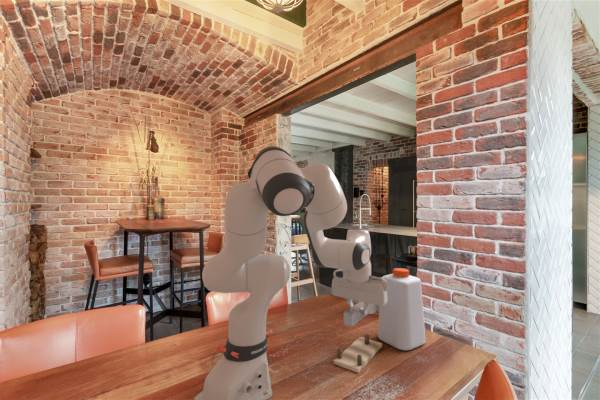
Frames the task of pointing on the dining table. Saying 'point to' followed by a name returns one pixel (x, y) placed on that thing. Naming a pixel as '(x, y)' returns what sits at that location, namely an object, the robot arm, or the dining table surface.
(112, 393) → the dining table surface
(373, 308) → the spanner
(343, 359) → the peg board
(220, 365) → the robot arm
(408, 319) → the plastic bottle
